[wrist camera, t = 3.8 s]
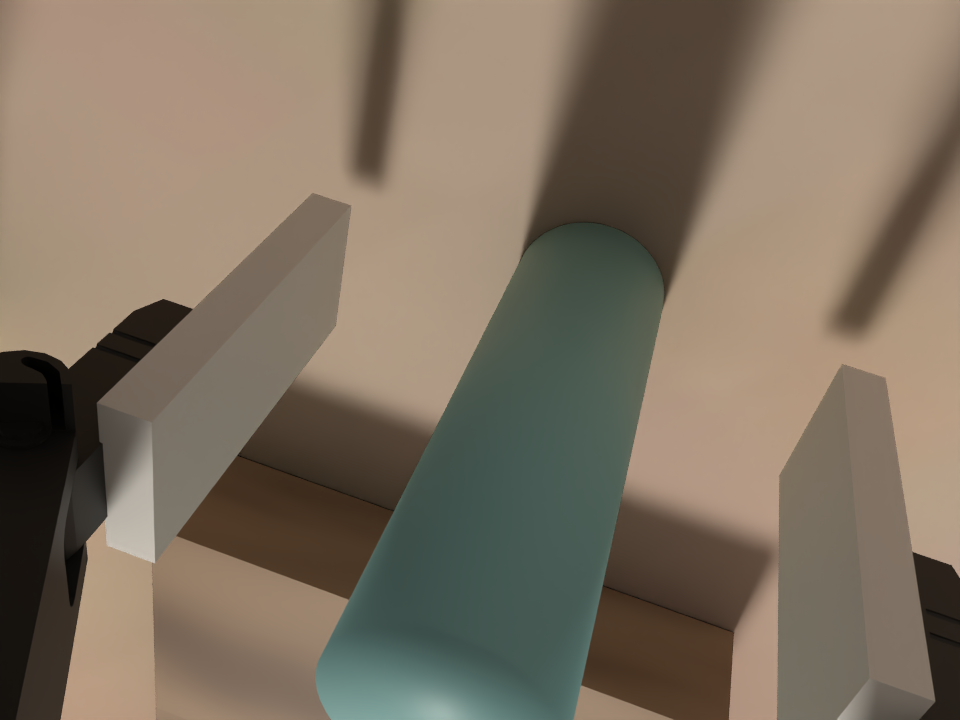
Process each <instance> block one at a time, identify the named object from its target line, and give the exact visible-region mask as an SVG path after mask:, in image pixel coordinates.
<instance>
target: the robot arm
mask: <svg viewBox="0 0 960 720" xmlns="http://www.w3.org/2000/svg"><path fill="white" fill-rule="evenodd" d="M350 212H351V205H348V204H345V203H342V202H338V201H335V200H332V199H329V198H326V197H323V196H320V195H317V194H314V193H312V194H311V195H310V196H309V197H308V198H307V199H306V200H305V201H304V202H303V203H302V204H301V205H300V206H299V207H298V208H297V209H296V210H295V211H294V212H293V213H292V214H291V215H290V216H289V217H288V218H287V219H286V220H285V221H284V222H282V223H281V224H280V225H279V226H278V227H277V228H276V229H275V230H274V231H273V232H272V233H271V234H270V235H269V236H268V237H267V238H266V239H265V240H264V241H263V242H262V243H261V244H260V245H259V246H258V247H257V248H256V249H255V250H254V251H253V252H252V253H251V254H250V255H249V256H247V257H246V258H245V259H244V260H243V261H242V262H241V263H240V264H239V265H238V266H237V267H236V268H235V269H234V270H233V271H232V272H231V273H230V274H229V275H228V276H227V277H226V278H225V279H224V280H223V281H222V282H221V283H220V284H219V285H218V286H217V287H216V288H215V289H214V290H212V291H211V292H210V293H209V294H208V295H207V296H206V297H205V298H204V299H203V300H202V301H201V302H200V303H199V304H198V305H197V306H196V307H195V308H194V309H191V308H188V307H186V306H183V305H180V304H177V303H174V302H171V301H168V300H165V299H162V300H160V301H158V302H155V303H153V304H150V305H148V306H145V307H143V308H140V309H138V310H135V311H133V312H132V313H131V314H130V315H129V316H128V317H127V318H126V319H124V320H123V321H122V322H121V323H120V324H119V325H118V326H117V327H115V328H114V329H113V333H109V334H108V335H106V336H105V337H104V338H103V339H102V340H101V341H100V342H98V343H97V346H96V348H92V349H91V350H89V351H88V352H87V353H86V354H85V355H84V356H83V357H82V358H80V359H79V360H78V361H77V362H76V363H75V364H74V365H73V366H71V367H70V368H69V369H68V368H67V367H66V366H65V365H64V364H63V362H62V361H60V360H58V359H56V358H54V357H52V356H50V355H48V354H45V353H40V352H33V351H27V350H21V351H8V352H1V353H0V720H60V719H61V713H62V707H63V701H64V696H65V690H66V684H67V678H68V672H69V666H70V660H71V654H72V648H73V642H74V636H75V630H76V625H77V619H78V613H79V607H80V601H81V595H82V589H83V583H84V577H85V571H86V565H87V559H88V558H87V547H86V541H87V540H88V539H89V537H90V536H91V535H92V534H93V533H94V532H95V531H96V529H97V528H98V527H99V526H100V525H101V524H102V522H103V521H104V520H105V526H106V540H107V546H109V547H112V548H115V549H117V550H120V551H123V552H125V553H128V554H131V555H134V556H136V557H139V558H142V559H144V560H147V561H150V562H152V563H156V561H157V560H158V559H159V558H160V556H161V555H162V554H163V552H164V551H165V550H166V548H167V547H168V546H169V544H170V543H171V542H172V540H173V539H174V538H175V536H176V535H177V534H178V533H179V531H180V530H181V529H182V527H183V526H184V525H185V523H186V522H187V521H188V519H189V518H190V517H191V515H192V514H193V513H194V512H195V510H196V509H197V508H198V506H199V505H200V504H201V502H202V501H203V500H204V498H205V497H206V496H207V494H208V493H209V492H210V490H211V489H212V488H213V487H214V485H215V484H216V483H217V481H218V480H219V479H220V477H221V476H222V475H223V473H224V472H225V471H226V469H227V468H228V467H229V465H230V464H231V463H232V462H233V460H234V459H235V458H236V456H237V455H238V454H239V452H240V451H241V450H242V448H243V447H244V446H245V444H246V443H247V442H248V440H249V439H250V438H251V437H252V435H253V434H254V433H255V431H256V430H257V429H258V427H259V426H260V425H261V423H262V422H263V421H264V419H265V418H266V417H267V415H268V414H269V413H270V412H271V410H272V409H273V408H274V406H275V405H276V404H277V402H278V401H279V400H280V398H281V397H282V396H283V394H284V393H285V392H286V390H287V389H288V388H289V387H290V385H291V384H292V383H293V381H294V380H295V379H296V377H297V376H298V375H299V373H300V372H301V371H302V369H303V368H304V367H305V366H306V364H307V363H308V362H309V360H310V359H311V358H312V356H313V355H314V354H315V352H316V351H317V350H318V348H319V347H320V346H321V344H322V343H323V342H324V341H325V339H326V338H327V337H328V335H329V334H330V333H331V331H332V330H333V329H334V327H335V326H336V320H337V312H338V305H339V297H340V289H341V281H342V274H343V266H344V258H345V250H346V243H347V235H348V227H349V220H350ZM777 720H960V578H959V576H958V575H957V573H956V572H955V570H954V568H953V567H952V565H949V564H946V563H943V562H940V561H937V560H934V559H931V558H928V557H925V556H922V555H920V554H917V553H914V552H912V546H911V540H910V533H909V527H908V520H907V514H906V507H905V501H904V494H903V488H902V481H901V475H900V468H899V462H898V455H897V449H896V442H895V436H894V429H893V423H892V416H891V410H890V403H889V397H888V390H887V384H886V378H884V377H881V376H878V375H875V374H872V373H868V372H865V371H862V370H859V369H856V368H853V367H850V366H847V365H844V364H842V365H841V367H840V369H839V370H838V372H837V374H836V376H835V377H834V379H833V381H832V383H831V385H830V386H829V388H828V390H827V392H826V393H825V395H824V397H823V399H822V401H821V402H820V404H819V406H818V408H817V409H816V411H815V413H814V415H813V417H812V418H811V420H810V422H809V424H808V426H807V427H806V429H805V431H804V433H803V434H802V436H801V438H800V440H799V442H798V443H797V445H796V447H795V449H794V450H793V452H792V454H791V456H790V458H789V459H788V461H787V463H786V465H785V466H784V468H783V470H782V472H781V474H780V477H779V583H778V690H777Z"/></svg>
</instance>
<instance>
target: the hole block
mask: <svg viewBox="0 0 960 720" xmlns="http://www.w3.org/2000/svg"><path fill="white" fill-rule="evenodd" d="M392 514H393V511H390V510H387V509H385V508H382V507H379V506H376V505H373V504H371V503H368V502H365V501H362V500H359V499H357V498H354V497H351V496H348V495H345V494H343V493H340V492H337V491H334V490H331V489H329V488H326V487H323V486H320V485H317V484H315V483H312V482H309V481H306V480H303V479H300V478H298V477H295V476H292V475H289V474H286V473H284V472H281V471H278V470H275V469H272V468H270V467H267V466H264V465H261V464H258V463H256V462H253V461H250V460H247V459H244V458H242V457H239V456H236V458H235V459H234V460H233V462H232V463H231V464H230V465H229V467H228V468H227V469H226V471H225V472H224V473H223V475H222V476H221V477H220V479H219V480H218V481H217V483H216V484H215V485H214V487H213V488H212V489H211V490H210V492H209V493H208V494H207V496H206V497H205V498H204V500H203V501H202V502H201V504H200V505H199V506H198V508H197V509H196V510H195V512H194V513H193V514H192V515H191V517H190V518H189V519H188V521H187V522H186V523H185V525H184V526H183V527H182V529H181V530H180V531H179V533H178V534H177V535H176V536H175V538H174V539H173V540H172V542H171V543H170V544H169V546H168V547H167V548H166V550H165V551H164V552H163V554H162V555H161V556H160V558H159V559H158V560H157V561H156V563H152V576H153V615H154V653H155V692H156V720H331V719H330V717H329V716H328V714H327V713H326V711H325V709H324V707H323V705H322V703H321V701H320V698H319V695H318V692H317V687H316V680H315V679H316V668H317V664H318V661H319V659H320V657H321V655H322V653H323V651H324V649H325V647H326V645H327V643H328V641H329V639H330V637H331V635H332V633H333V631H334V629H335V627H336V625H337V623H338V621H339V619H340V617H341V615H342V613H343V611H344V609H345V607H346V605H347V603H348V601H349V599H350V597H351V595H352V593H353V591H354V589H355V587H356V585H357V583H358V581H359V579H360V577H361V575H362V573H363V571H364V569H365V568H366V566H367V564H368V562H369V560H370V558H371V556H372V554H373V552H374V550H375V548H376V546H377V544H378V542H379V540H380V538H381V536H382V534H383V532H384V530H385V528H386V526H387V524H388V522H389V520H390V518H391V516H392ZM733 638H734V633H732V632H730V631H727V630H724V629H721V628H718V627H716V626H713V625H710V624H707V623H704V622H702V621H699V620H696V619H693V618H690V617H688V616H685V615H682V614H679V613H676V612H674V611H671V610H668V609H665V608H662V607H660V606H657V605H654V604H651V603H648V602H646V601H643V600H640V599H637V598H634V597H631V596H629V595H626V594H623V593H620V592H617V591H615V590H612V589H609V588H606V587H603V586H602V591H601V595H600V600H599V605H598V609H597V614H596V619H595V623H594V628H593V632H592V637H591V642H590V646H589V651H588V656H587V660H586V665H585V669H584V674H583V679H582V683H581V688H580V693H579V697H578V702H577V706H576V711H575V716H574V720H729V706H730V689H731V672H732V655H733Z"/></svg>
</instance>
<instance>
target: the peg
mask: <svg viewBox="0 0 960 720" xmlns="http://www.w3.org/2000/svg"><path fill="white" fill-rule="evenodd" d="M663 303H664V284H663V279H662V276H661V273H660V270H659V268H658V266H657V264H656V262H655V260H654V259H653V257H652V256H651V254H650V253H649V252H648V251H647V250H646V249H645V248H644V247H643V246H642V245H641V244H640V243H639V242H638V241H637V240H635V239H634V238H632V237H631V236H629V235H628V234H626V233H624V232H622V231H620V230H618V229H615V228H613V227H610V226H606V225H602V224H597V223H571V224H566V225H562V226H559V227H556V228H554V229H551V230H549V231H548V232H546V233H544V234H543V235H541V236H540V237H539V238H537V239H536V240H535V241H534V242H533V243H532V244H531V245H530V246H529V247H528V249H527V250H526V251H525V253H524V255H523V257H522V259H521V261H520V263H519V264H518V266H517V268H516V270H515V272H514V274H513V276H512V278H511V280H510V282H509V284H508V286H507V288H506V290H505V292H504V294H503V296H502V298H501V300H500V302H499V304H498V306H497V308H496V310H495V312H494V314H493V316H492V318H491V320H490V322H489V324H488V326H487V328H486V330H485V332H484V334H483V336H482V338H481V340H480V342H479V344H478V346H477V348H476V350H475V352H474V354H473V356H472V358H471V360H470V362H469V364H468V365H467V367H466V369H465V371H464V373H463V375H462V377H461V379H460V381H459V383H458V385H457V387H456V389H455V391H454V393H453V395H452V397H451V399H450V401H449V403H448V405H447V407H446V409H445V411H444V413H443V415H442V417H441V419H440V421H439V423H438V425H437V427H436V429H435V431H434V433H433V435H432V437H431V439H430V441H429V443H428V445H427V447H426V449H425V451H424V453H423V455H422V457H421V459H420V461H419V463H418V465H417V467H416V468H415V470H414V472H413V474H412V476H411V478H410V480H409V482H408V484H407V486H406V488H405V490H404V492H403V494H402V496H401V498H400V500H399V502H398V504H397V506H396V508H395V510H394V512H393V514H392V516H391V518H390V520H389V522H388V524H387V526H386V528H385V530H384V532H383V534H382V536H381V538H380V540H379V542H378V544H377V546H376V548H375V550H374V552H373V554H372V556H371V558H370V560H369V562H368V564H367V566H366V568H365V569H364V571H363V573H362V575H361V577H360V579H359V581H358V583H357V585H356V587H355V589H354V591H353V593H352V595H351V597H350V599H349V601H348V603H347V605H346V607H345V609H344V611H343V613H342V615H341V617H340V619H339V621H338V623H337V625H336V627H335V629H334V631H333V633H332V635H331V637H330V639H329V641H328V643H327V645H326V647H325V649H324V651H323V653H322V655H321V657H320V659H319V661H318V664H317V668H316V679H315V680H316V687H317V692H318V695H319V698H320V701H321V703H322V705H323V707H324V709H325V711H326V713H327V714H328V716H329V717H330V719H331V720H574V716H575V711H576V706H577V702H578V697H579V693H580V688H581V683H582V679H583V674H584V669H585V665H586V660H587V656H588V651H589V646H590V642H591V637H592V632H593V628H594V623H595V619H596V614H597V609H598V605H599V600H600V595H601V591H602V586H603V582H604V577H605V572H606V568H607V563H608V558H609V554H610V549H611V545H612V540H613V535H614V531H615V526H616V521H617V517H618V512H619V508H620V503H621V498H622V494H623V489H624V484H625V480H626V475H627V471H628V466H629V461H630V457H631V452H632V447H633V443H634V438H635V434H636V429H637V424H638V420H639V415H640V410H641V406H642V401H643V397H644V392H645V387H646V383H647V378H648V373H649V369H650V364H651V360H652V355H653V350H654V346H655V341H656V336H657V332H658V327H659V323H660V318H661V313H662V309H663Z"/></svg>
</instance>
